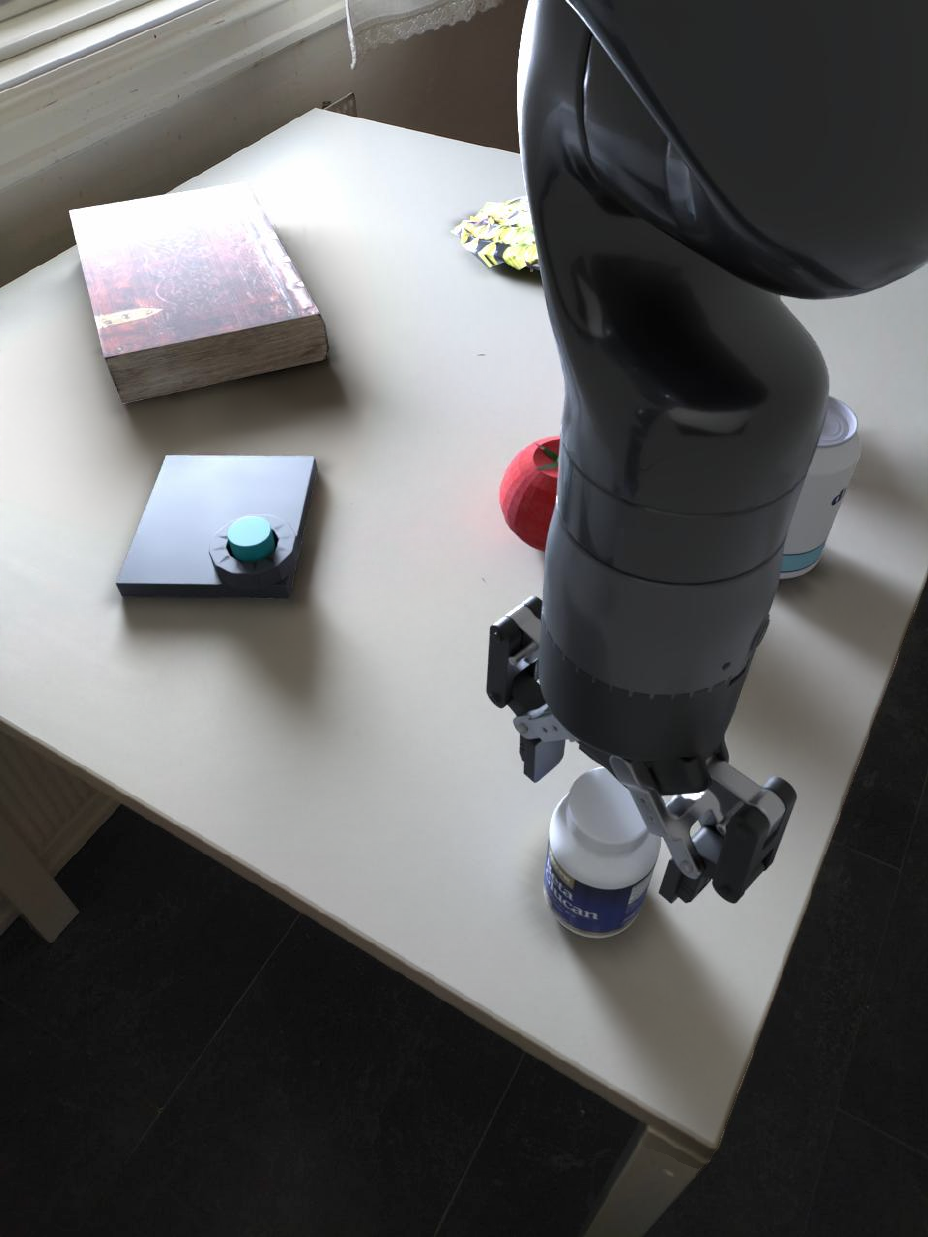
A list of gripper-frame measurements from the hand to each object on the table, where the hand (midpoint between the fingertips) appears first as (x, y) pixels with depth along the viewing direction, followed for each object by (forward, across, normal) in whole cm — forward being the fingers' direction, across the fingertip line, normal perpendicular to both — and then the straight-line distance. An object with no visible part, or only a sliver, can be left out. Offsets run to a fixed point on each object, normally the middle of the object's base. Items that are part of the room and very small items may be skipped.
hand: (608, 824), depth 43 cm
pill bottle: (+8, 0, 0) cm, 8 cm away
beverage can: (+8, -8, +28) cm, 30 cm away
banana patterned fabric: (+8, -52, +50) cm, 72 cm away
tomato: (+8, -20, +19) cm, 29 cm away
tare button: (+5, -33, +1) cm, 33 cm away
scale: (+7, -38, +1) cm, 39 cm away
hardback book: (+8, -68, +17) cm, 70 cm away
